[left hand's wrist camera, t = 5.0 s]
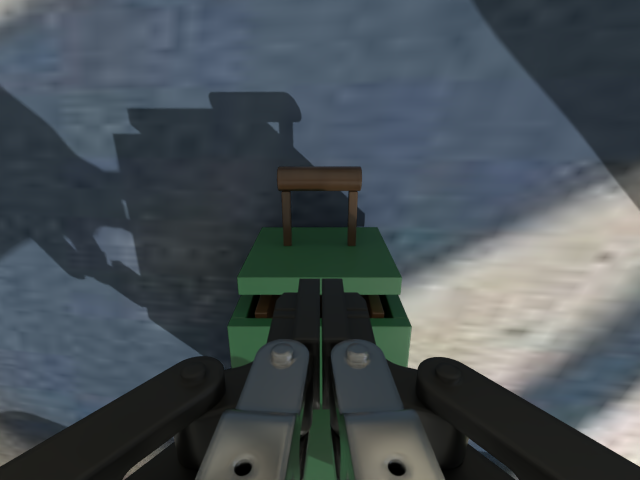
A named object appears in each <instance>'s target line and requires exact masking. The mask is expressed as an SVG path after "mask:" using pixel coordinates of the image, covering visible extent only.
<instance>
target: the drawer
mask: <svg viewBox="0 0 640 480" xmlns="http://www.w3.org/2000/svg"><path fill="white" fill-rule="evenodd" d="M277 186H278V190H279V191H282V192H281V194H282V219H283V227H262V229H261V231H260V233H259V235H258V237H257V239H256V241H255V243H254V245H253V247H252V249H251V251H250V253H249V255H248V257H247V259H246V261H245V263H244V265H243V267H242V269H241V271H240V273H239V275H238V277H237V283H238V294H239V295H260V299H259V302H258V305H257V308H256V311H255V318H273V313H274V308H275V304H276V300H277V299H278V298H279V297H280V296H281V295H282V294H283V293H284V292H298V286H299V279H320V318H322V278H342V280H343V287H344V292H358V293H359V294H360V295H361V296H362V297H363V298H364V299H365V300H366V304H367V308H368V313H369V318H384V311H383V308H382V304H381V301H380V298H379V295H400V293H401V282H402V277H401V275H400V273H399V271H398V269H397V267H396V264H395V262H394V260H393V258H392V256H391V254H390V252H389V250H388V248H387V246H386V244H385V242H384V240H383V238H382V236H381V234H380V232H379V230H378V228H377V227H356V225H357V198H358V192H357V191H360V190H361V186H362V169H361V167H278V169H277ZM291 191H349V193H348V227H292V221H291Z"/></svg>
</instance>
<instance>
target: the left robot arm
mask: <svg viewBox="0 0 640 480" xmlns="http://www.w3.org/2000/svg"><path fill="white" fill-rule="evenodd" d="M322 409H330V442H331V451H332V459H333V468H334V477H335V480H515V479H514V478H513V477H511V476H510V475H509V474H507V473H506V472H505V471H503V470H502V469H501V468H499V467H498V466H497V465H495V464H494V463H493V462H491V461H490V460H489V459H487V458H486V457H485V456H484V455H482V454H481V453H480V452H478V451H477V450H476V449H474V448H473V447H472V446H470V445H469V444H468V439H471V440H472V441H473V442H475V443H476V444H477V445H479V446H480V447H481V448H483V449H484V450H486V451H487V452H488V453H490V454H491V455H492V456H494V457H495V458H496V459H498V460H499V461H500V462H502V463H503V464H504V465H506V466H507V467H508V468H509V469H511V470H512V471H513V472H514V474H515V475H516V476H517V477H518V479H519V480H640V467H639V466H638V465H636V464H634V463H632V462H631V461H629V460H627V459H626V458H624V457H622V456H620V455H619V454H617V453H615V452H614V451H612V450H610V449H608V448H607V447H605V446H603V445H602V444H600V443H598V442H596V441H595V440H593V439H591V438H590V437H588V436H586V435H584V434H583V433H581V432H579V431H577V430H576V429H574V428H572V427H571V426H569V425H567V424H565V423H564V422H562V421H560V420H559V419H557V418H555V417H553V416H552V415H550V414H548V413H547V412H545V411H543V410H541V409H540V408H538V407H536V406H535V405H533V404H531V403H529V402H528V401H526V400H524V399H523V398H521V397H519V396H517V395H516V394H514V393H512V392H511V391H509V390H507V389H505V388H504V387H502V386H500V385H499V384H497V383H495V382H493V381H492V380H490V379H488V378H487V377H485V376H483V375H481V374H480V373H478V372H476V371H475V370H473V369H471V368H469V367H468V366H466V365H464V364H462V363H461V362H459V361H456V360H453V359H450V358H445V357H433V358H428V359H426V360H424V361H423V362H421V363H420V365H419V367H418V370H416V369H412V368H408V367H403V366H400V365H397V364H394V363H392V362H390V361H389V360H387V359H386V358H385V355H384V353H383V351H382V350H381V349H380V348H379V347H378V346H377V345H376V342H375V338H374V334H373V329H372V325H371V321H370V318H369V313H368V308H367V304H366V300H365V299H364V298H363V297H362V296H361V295H360V294H359V293H358V292H344V287H343V280H342V278H322ZM313 410H320V279H299V286H298V292H284V293H283V294H282V295H281V296H280V297H279V298H278V299H277V300H276V304H275V308H274V313H273V318H272V321H271V326H270V330H269V335H268V339H267V343H266V344H265V345H263V346H262V347H261V348H260V349H259V350H258V351H257V353H256V355H255V358H254V361H252V362H250V363H248V364H246V365H243V366H240V367H235V368H231V369H227V370H224V368H223V365H222V364H221V362H220V361H219V360H217V359H215V358H212V357H207V356H199V357H192V358H189V359H186V360H183V361H181V362H179V363H177V364H176V365H174V366H172V367H171V368H169V369H167V370H165V371H164V372H162V373H160V374H159V375H157V376H155V377H153V378H152V379H150V380H148V381H147V382H145V383H143V384H141V385H140V386H138V387H136V388H135V389H133V390H131V391H129V392H128V393H126V394H124V395H123V396H121V397H119V398H117V399H116V400H114V401H112V402H111V403H109V404H107V405H105V406H104V407H102V408H100V409H99V410H97V411H95V412H93V413H92V414H90V415H88V416H87V417H85V418H83V419H81V420H80V421H78V422H76V423H75V424H73V425H71V426H69V427H68V428H66V429H64V430H63V431H61V432H59V433H57V434H56V435H54V436H52V437H51V438H49V439H47V440H45V441H44V442H42V443H40V444H39V445H37V446H35V447H33V448H32V449H30V450H28V451H27V452H25V453H23V454H21V455H20V456H18V457H16V458H14V459H13V460H11V461H9V462H8V463H6V464H4V465H2V466H1V467H0V480H122V479H123V477H124V476H125V475H126V473H127V472H128V471H129V470H130V469H131V468H132V467H133V466H134V465H136V464H137V463H138V462H140V461H141V460H142V459H144V458H145V457H146V456H148V455H149V454H150V453H152V452H153V451H154V450H156V449H157V448H159V447H160V446H161V445H163V444H164V443H165V442H167V441H168V440H169V439H171V438H172V437H173V436H174V441H175V442H174V443H172V444H171V445H170V446H168V447H167V448H166V449H164V450H163V451H162V452H160V453H159V454H158V455H156V456H155V457H154V458H153V459H151V460H150V461H149V462H147V463H146V464H145V465H143V466H142V467H141V468H139V469H138V470H137V471H135V472H134V473H133V474H131V475H130V476H129V477H127V478H126V479H125V480H305V477H306V468H307V459H308V451H309V442H310V428H311V425H312V420H313Z"/></svg>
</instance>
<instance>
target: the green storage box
mask: <svg viewBox="0 0 640 480" xmlns="http://www.w3.org/2000/svg"><path fill="white" fill-rule="evenodd" d="M379 298H380V301H381V304H382V308H383V311H384V318H370V321H371V325H372V329H373V334H374V338H375V342H376V345H377V346H378V347H379V348H380V349H381V350H382V351H383V353H384V355H385V358H386V359H387V360H389V361H390V362H392V363H394V364H397V365H400V366H403V367H408V357H409V348H410V338H411V328H412V326H411V324H410V322H409V319H408V317H407V315H406V312H405V310H404V308H403V305H402V303H401V301H400V298H399V296H398V295H379ZM259 299H260V295H241V297H240V299H239V301H238V303H237V306H236V308H235V310H234V313H233V315H232V317H231V319H230V322H229V324H228V326H227V329H228V338H229V347H230V357H231V366H232V368H235V367H240V366H243V365H246V364H248V363H250V362H252V361H254V358H255V355H256V353H257V351H258V350H259V349H260V348H261V347H262V346H263V345H265V344H266V343H267V339H268V335H269V330H270V326H271V321H272V318H255V311H256V308H257V305H258V302H259ZM305 480H335V477H334V468H333V459H332V451H331V442H330V409H322V318H320V410H313V420H312V425H311V428H310V442H309V451H308V459H307V468H306V477H305Z"/></svg>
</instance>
